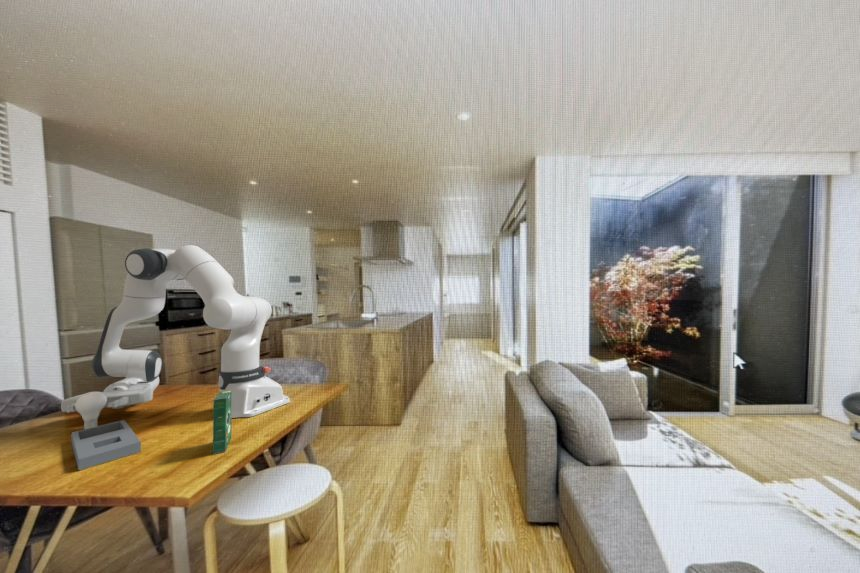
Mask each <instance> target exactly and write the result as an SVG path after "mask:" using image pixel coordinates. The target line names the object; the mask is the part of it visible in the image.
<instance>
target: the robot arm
mask: <svg viewBox="0 0 860 573" xmlns="http://www.w3.org/2000/svg"><path fill="white" fill-rule="evenodd" d="M124 260H125V261H124V266H125V269H126V271H127V274H126V279H125V282H124V287H123V296H122V299H121V300H122V301H121V302H120V304H119V305H118V306H115V307H113V308H112V309H111V310H110V311H109V314H108V315H107V318H106V320H105V324H104V327H103V330H102V333H101V337H100V340H99V344H98V347H97V349H96V352H95V354H94V356H93V358H92V360H91V364H90V369H91V371H92V373H93V374H94V375H96V376H97V377H98V378H115V377H117V378H118V377H119V378H123V377H124V378H123V379H121V380H118V381H116V382H114V383H111V384H109V385H108V386H106V387H105V389H104V390H103V391H101V392H102V393H104V394H105V395H106V397H107V403H106V405H105V406H104V407H103V409H104V408H109V409H116V410H117V409H122V408H125V407H128V406H131V405H139V404H140V405H141V404H145V403H147V402H151V401H153V397H154V391H155V390H156V388H158V386H159V384H160V377H159V376H160V375H161V373H162V370H163V366H164V365H163V363H164V362H163V358H162V356H161V355H160V353H159V352H158V351H156V350H146V349H122V348H121V346H120V343H121V339H122V336H123V333H124V329H125V327H126V326H127V325H128V324H130V323H134V322H141V321H143V320H146V319H150V318H153V317H155V316H156V315H158V314H160V313H162V312H161V311H163V310H164V308H165V305H166V297H167V296H166V293H167V284H168V283H169V282H170V281H182V280H185V281H186V282H187V284H189V285H190V287H192V289H193V290H194V291H195V292H196V293H197V294H198V296H200V299H202V301H203V303H204V307H203V311H202V317H203V321H204V322H205V324H206V325H207V326H209V327H211V328H212V329H219V330H224V331H225V330H229V331H230V333H229V336H228V338H227V339H226V341H225V342H224V343H223V345H222V346H221V349H220V355H221V357H220V371H219V373H218V374H219V375H218V376H219V377H218V387H219V393H220V392H223V391H231V419H235V418H250V417H251V418H252V417H255V416H257V415H260V414H263V413H266V412H269V411H270V410H273V409H276V408H279V407H281V406H284V405H287V404H289V403H291V398H290V397H289V396H288V395H285V394H284V391H283V387H282V385H281V384H280V383H278V382H276V381H275V380H274V379H272V378H270V377H268V376H266V375H265V374H270V372H271V369H272V368H270V367H269V366H264V367H263V366H261V365H260V352H261V351H260V346H261V340H262V336H263V332H264V329H265V326H266V324H267V322H268V320H269V319H270V318H271V316H272V314H273V309H272V306H271V304H270V302H269V301H267V300H266V299H265V298H262V297H259V296H254V295H251V296H250V295H242V294H240V293H238V292H237V291H236V289H235V288H234V284H235V280H234V278H233V277H232V275H231V274H230V273H229V272H228V271H227V270H226V269H225V268H224V267H223V266H222V265H221V264H220V263H219V262H218V260H217V259H215V258H214V257H213V256H212V255H211V254H210V253H208V252H207V251H205V250H204V249H203V248H201V247H199V246H197V245H194V244H187V245H183V246H181V247H179V248H177V249H171V248H149V247H147V248H138V249H134V250H131V251H130V252H129V253H128V254H127V256H126V257H125V259H124ZM83 394H84V393H82V394H79V395H78V394H77V395H75V396H71V397H68V398H65V399H62V401H61V402H60V403H61V404H60V409H61V412H62V413H68V414H69V413H75V412H77V411H76V409H75V403H76V401H77V399H78V398H79V397H80V396H82V395H83Z"/></svg>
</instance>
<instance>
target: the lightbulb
mask: <svg viewBox="0 0 860 573" xmlns="http://www.w3.org/2000/svg"><path fill="white" fill-rule="evenodd" d="M102 392H103V391H89V392H86V393H82V394H83V395H82V394H81V395H82V396H80V397H79V398H78V399H77V401H76V403H75V409H76V411H75V412H77V413H79V415H80V416H81V417H82V420H83V422H84V423H83V430H84V429H88V428H92V427H97V426H98V419H99V416H100V414H101V411H102V410H103V409H104V408H103V407H104V406H105V405H106V403H107V397H106V395H105V394H104V393H102Z"/></svg>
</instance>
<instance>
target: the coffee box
mask: <svg viewBox="0 0 860 573" xmlns="http://www.w3.org/2000/svg"><path fill="white" fill-rule="evenodd" d="M212 401H213V404H212V406H213V408H212V409H213V414H212V416H213V417H212V418H213V419H212V455H216V454H221V453H224V452H226V451H227V449H228V446H229V445H230V442H231V439H232V418H231V391H223V392H220V391H219V393H218V394H217V395H216V396H215V397H214V398H213V400H212Z"/></svg>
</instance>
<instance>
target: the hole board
mask: <svg viewBox="0 0 860 573" xmlns="http://www.w3.org/2000/svg"><path fill="white" fill-rule="evenodd" d="M70 435H71V438H70V439H71V446H72V451H73V454H74V459H75V462H76V466H77V470H80V471H83V470H86V469H85V468H87V469H90V468H92V467H91V466H93V467H96V466H99V465H98V464H100V465H103V464H105V462H106V463H109V462H108V461H110V462H113V461H115V459H116V460H119V459H123V458H125V457H128V456H129V457H130V456H133V455H135V453H136V454H138V453H141V452H142V441H141V440H140V438H139V437H138V436H137V435H136V433H135V432H134V431H133V430H132V428H131V427H130V425H129V424H128V423H127V422H126V420H124V419H122V420H119V421H114V422H113V421H112V422H109V423H106V424H101V425H97V426H96V427H92V428H88V429H84V428H83V429H80V430H76V431H72V432H71V434H70ZM112 460H113V461H112ZM102 463H103V464H102ZM95 465H96V466H95ZM89 467H90V468H89ZM82 469H83V470H82Z"/></svg>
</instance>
